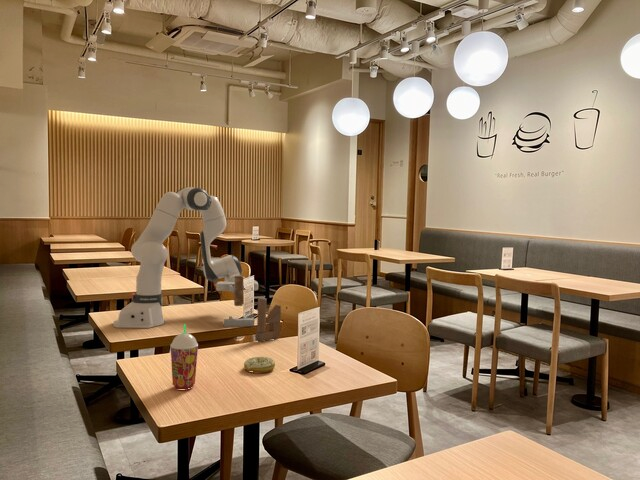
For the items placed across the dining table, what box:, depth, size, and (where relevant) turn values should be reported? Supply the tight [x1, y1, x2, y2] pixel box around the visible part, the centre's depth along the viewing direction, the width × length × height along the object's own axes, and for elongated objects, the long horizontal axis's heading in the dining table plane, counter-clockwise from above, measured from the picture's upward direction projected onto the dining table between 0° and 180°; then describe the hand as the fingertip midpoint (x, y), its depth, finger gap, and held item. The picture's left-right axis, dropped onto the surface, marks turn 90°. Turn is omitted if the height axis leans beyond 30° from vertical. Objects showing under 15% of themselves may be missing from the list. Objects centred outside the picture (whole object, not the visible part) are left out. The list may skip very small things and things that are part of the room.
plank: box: [233, 274, 244, 307], centre depth 254 cm, size 4×4×14 cm
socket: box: [223, 315, 255, 328], centre depth 253 cm, size 14×8×3 cm, turn 106°
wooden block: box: [254, 297, 282, 342], centre depth 228 cm, size 4×11×18 cm, turn 133°
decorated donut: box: [243, 356, 276, 373], centre depth 187 cm, size 10×11×4 cm
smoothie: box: [170, 323, 199, 390], centre depth 166 cm, size 8×8×20 cm
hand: (238, 288), depth 253 cm, fingers closed on plank, 3 cm apart
